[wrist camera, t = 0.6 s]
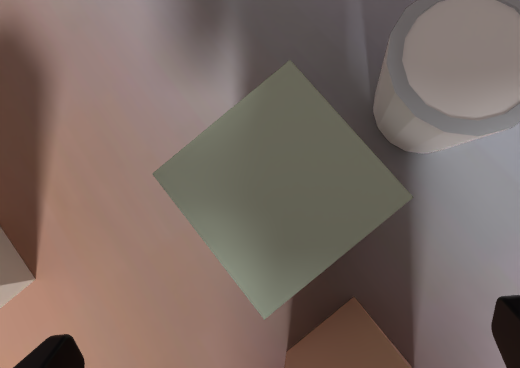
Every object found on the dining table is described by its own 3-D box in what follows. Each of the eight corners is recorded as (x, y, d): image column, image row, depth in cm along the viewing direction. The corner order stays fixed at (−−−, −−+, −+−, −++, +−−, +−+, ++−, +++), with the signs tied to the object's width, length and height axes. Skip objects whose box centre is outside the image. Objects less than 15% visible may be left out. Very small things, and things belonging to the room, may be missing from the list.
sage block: (351, 216, 23) (413, 197, 10) (285, 270, 23) (264, 319, 10) (297, 152, 24) (290, 59, 11) (233, 204, 24) (152, 173, 11)
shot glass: (342, 83, 24) (358, 23, 17) (446, 33, 24) (506, -48, 17) (394, 183, 23) (435, 163, 16) (504, 133, 23) (593, 90, 16)
